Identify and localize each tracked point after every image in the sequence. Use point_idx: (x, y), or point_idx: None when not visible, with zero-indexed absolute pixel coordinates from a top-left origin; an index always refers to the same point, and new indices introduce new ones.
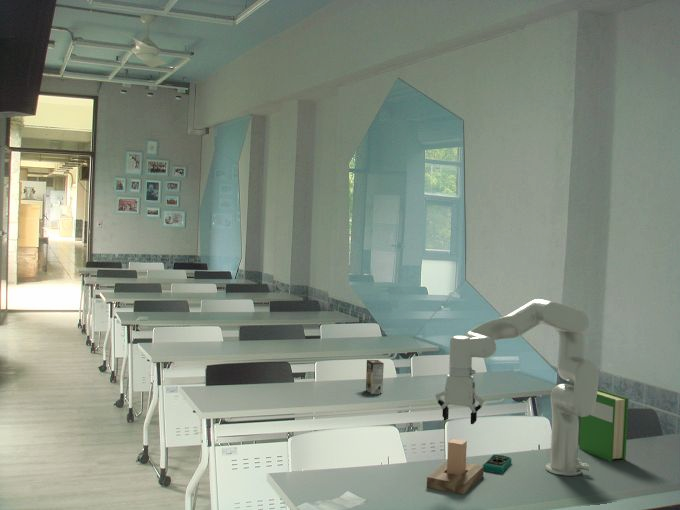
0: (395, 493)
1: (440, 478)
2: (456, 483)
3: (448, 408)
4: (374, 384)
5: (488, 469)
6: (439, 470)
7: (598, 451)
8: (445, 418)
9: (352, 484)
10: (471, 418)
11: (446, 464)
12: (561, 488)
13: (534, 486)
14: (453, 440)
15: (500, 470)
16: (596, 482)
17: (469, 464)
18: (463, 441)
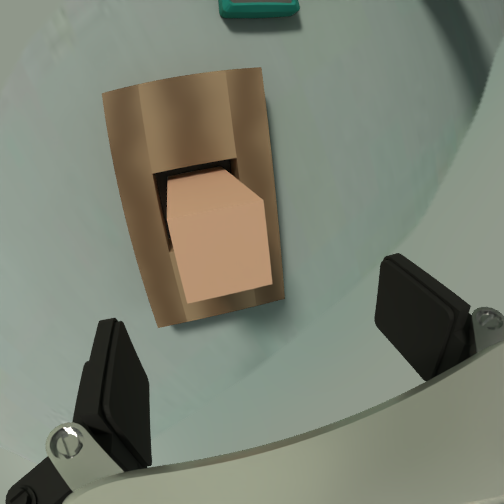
0: None
1: (198, 309)
2: (258, 303)
3: (110, 408)
4: None
5: (246, 16)
6: (146, 242)
7: None
8: (147, 393)
9: (37, 396)
10: (406, 351)
11: (125, 154)
12: (446, 69)
13: (403, 84)
14: (192, 253)
15: (291, 13)
16: (469, 2)
17: (203, 83)
18: (252, 226)
